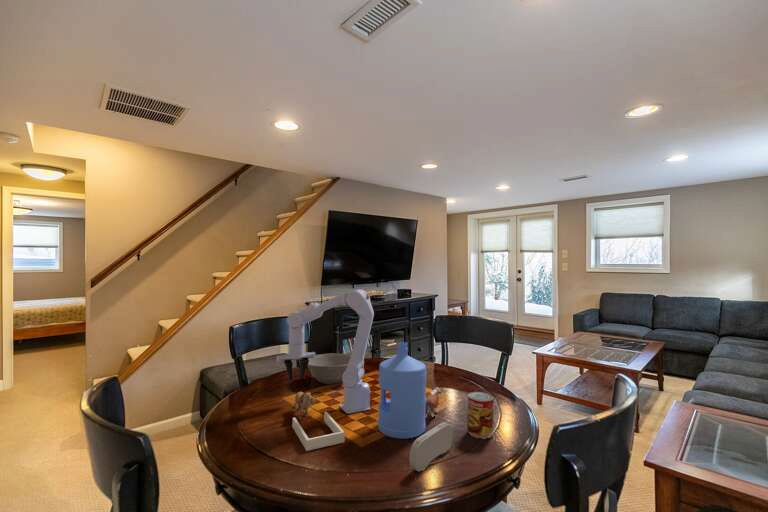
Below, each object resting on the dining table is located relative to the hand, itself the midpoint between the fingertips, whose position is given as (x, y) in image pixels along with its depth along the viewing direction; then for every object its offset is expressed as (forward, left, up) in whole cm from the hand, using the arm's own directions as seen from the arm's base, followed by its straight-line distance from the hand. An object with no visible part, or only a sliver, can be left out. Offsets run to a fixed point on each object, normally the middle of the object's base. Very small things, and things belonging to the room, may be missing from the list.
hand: (295, 378), depth 138 cm
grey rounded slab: (-24, +56, -10) cm, 62 cm away
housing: (0, +28, -9) cm, 29 cm away
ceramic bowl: (-21, -19, -10) cm, 30 cm away
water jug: (-26, +36, -10) cm, 45 cm away
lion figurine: (0, +11, -10) cm, 14 cm away
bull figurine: (-42, +31, -10) cm, 53 cm away
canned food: (-47, +50, -10) cm, 69 cm away
